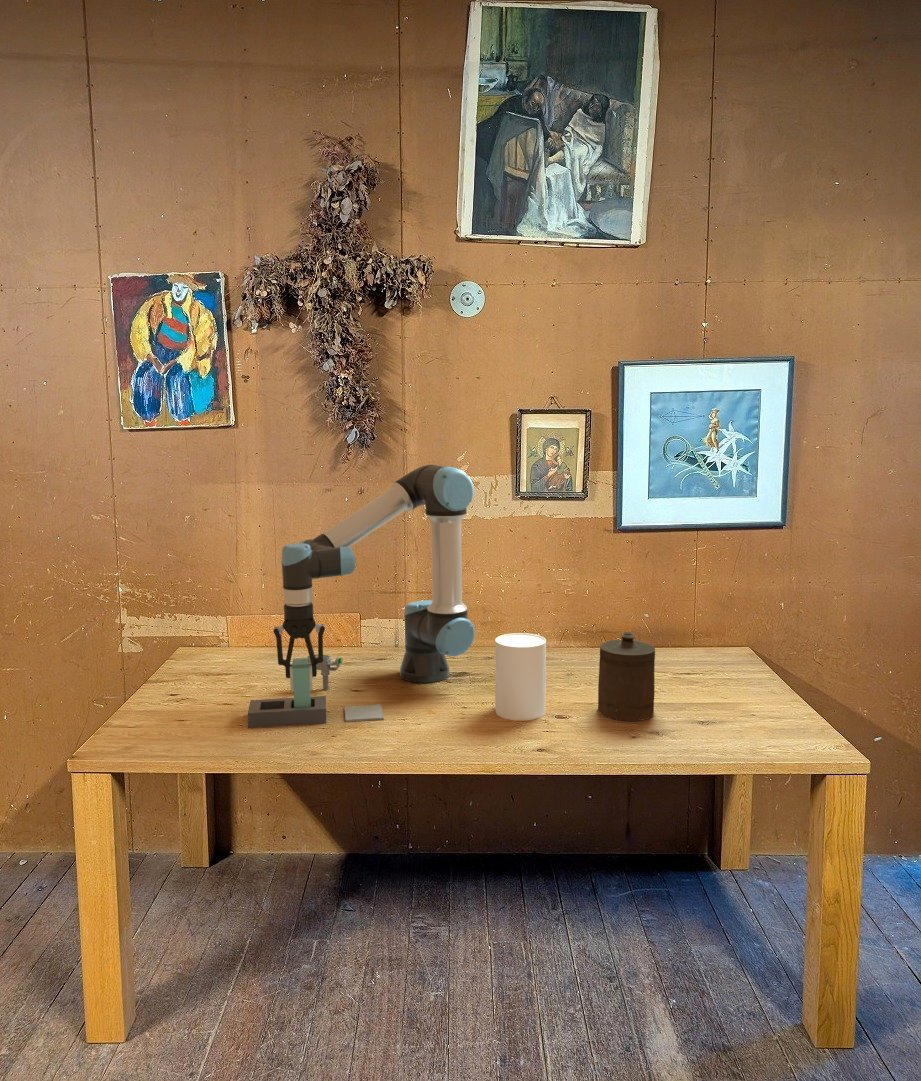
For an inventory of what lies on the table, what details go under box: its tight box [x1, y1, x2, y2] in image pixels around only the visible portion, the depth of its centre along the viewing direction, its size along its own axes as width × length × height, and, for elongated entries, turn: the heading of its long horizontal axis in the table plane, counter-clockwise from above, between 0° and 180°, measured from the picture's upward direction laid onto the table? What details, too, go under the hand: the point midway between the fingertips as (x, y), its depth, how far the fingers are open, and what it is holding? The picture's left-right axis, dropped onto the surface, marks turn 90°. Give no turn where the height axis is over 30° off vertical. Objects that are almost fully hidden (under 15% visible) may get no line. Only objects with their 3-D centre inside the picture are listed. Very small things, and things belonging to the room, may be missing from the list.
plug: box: [292, 657, 312, 708], centre depth 234 cm, size 4×4×13 cm
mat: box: [344, 704, 385, 723], centre depth 238 cm, size 10×10×1 cm
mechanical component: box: [306, 654, 343, 691], centre depth 257 cm, size 3×10×10 cm, turn 79°
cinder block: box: [247, 695, 327, 729], centre depth 234 cm, size 20×10×4 cm, turn 99°
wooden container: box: [597, 631, 656, 722], centre depth 237 cm, size 15×15×22 cm
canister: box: [494, 632, 547, 722], centre depth 237 cm, size 14×14×20 cm
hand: (301, 688), depth 234 cm, fingers closed on plug, 4 cm apart
